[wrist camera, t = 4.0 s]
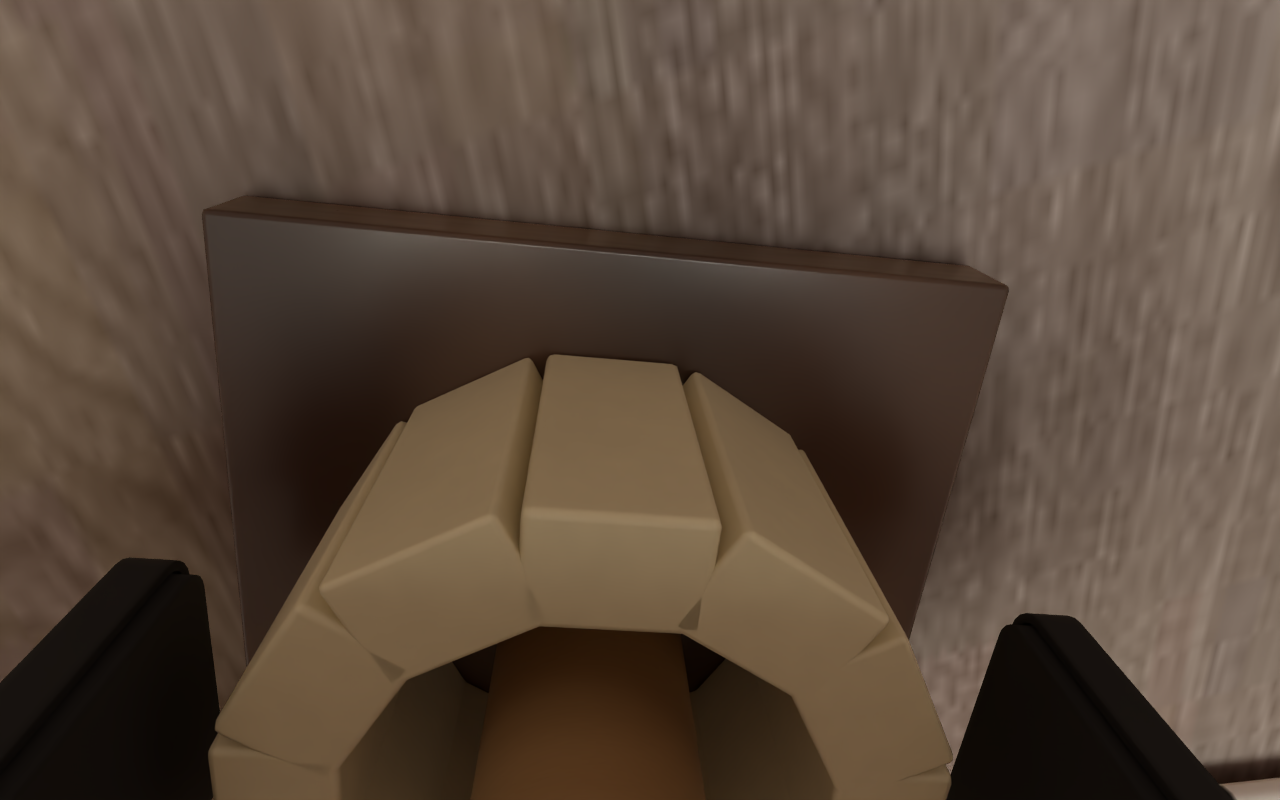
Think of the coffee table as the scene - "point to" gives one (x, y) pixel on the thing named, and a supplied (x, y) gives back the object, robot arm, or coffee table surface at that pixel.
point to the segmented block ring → (583, 596)
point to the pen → (1254, 789)
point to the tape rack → (536, 328)
